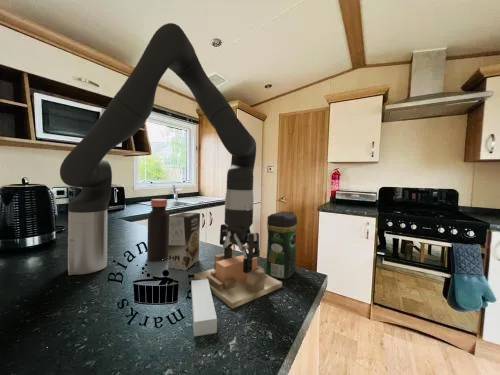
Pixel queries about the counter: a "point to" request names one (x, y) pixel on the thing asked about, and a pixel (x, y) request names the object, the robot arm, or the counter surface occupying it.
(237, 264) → the tall peach block
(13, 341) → the counter surface
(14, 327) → the counter surface
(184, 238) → the coffee box
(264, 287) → the jig
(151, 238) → the bottle
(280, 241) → the coffee jar
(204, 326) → the light grey bar
